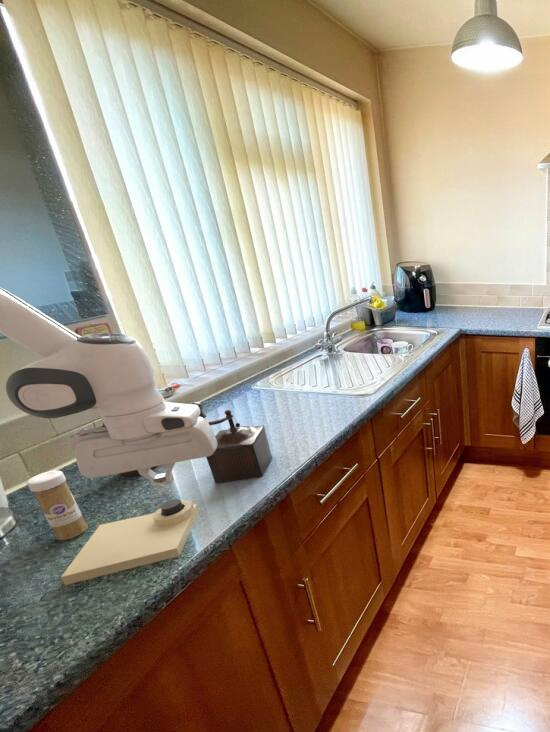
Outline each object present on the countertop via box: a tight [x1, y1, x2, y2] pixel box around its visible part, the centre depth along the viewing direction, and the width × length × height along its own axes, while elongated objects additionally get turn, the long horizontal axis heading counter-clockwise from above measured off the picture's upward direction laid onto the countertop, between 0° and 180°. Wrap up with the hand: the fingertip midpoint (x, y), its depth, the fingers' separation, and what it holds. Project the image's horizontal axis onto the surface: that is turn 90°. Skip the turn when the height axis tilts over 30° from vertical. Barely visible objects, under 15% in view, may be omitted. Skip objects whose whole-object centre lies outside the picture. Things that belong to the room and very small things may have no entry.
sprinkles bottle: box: [26, 470, 89, 541], centre depth 78 cm, size 5×5×13 cm
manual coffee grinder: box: [187, 400, 273, 485], centre depth 97 cm, size 16×11×18 cm
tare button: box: [160, 498, 183, 516], centre depth 81 cm, size 3×3×2 cm
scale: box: [60, 499, 200, 586], centre depth 77 cm, size 16×14×4 cm
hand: (163, 483), depth 79 cm, fingers closed
